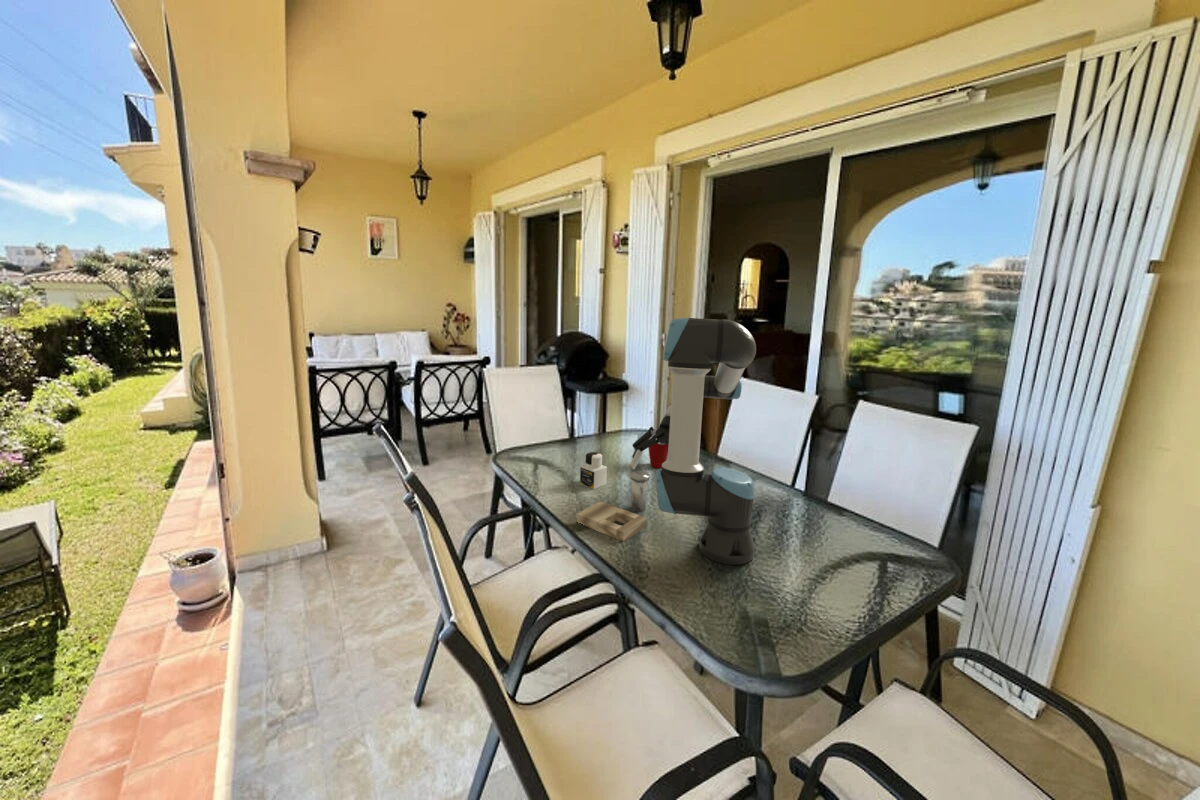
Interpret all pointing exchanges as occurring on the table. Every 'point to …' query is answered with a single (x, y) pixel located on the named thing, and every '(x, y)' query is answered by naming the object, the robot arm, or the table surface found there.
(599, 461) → the medicine bottle
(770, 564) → the table surface
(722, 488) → the robot arm
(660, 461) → the plastic cup
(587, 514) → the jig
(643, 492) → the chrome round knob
